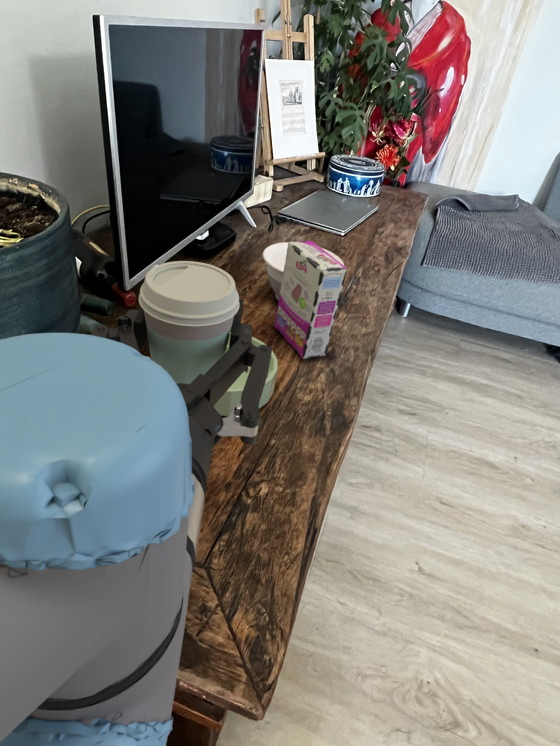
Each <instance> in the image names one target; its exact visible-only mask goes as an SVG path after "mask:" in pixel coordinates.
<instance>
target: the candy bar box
mask: <svg viewBox="0 0 560 746" xmlns="http://www.w3.org/2000/svg"><path fill="white" fill-rule="evenodd" d="M322 248H323V247H321V246H319V245H318V244H317V243H316V242H315V241H314V240H297V241H288V249H287V255H286V260H285V266H284V272H283V278H282V283H281V289H280V296H279V301H278V300H277V301H278V302H277V307H276V314H275V318H274V319H275V320H274V328H275V329H276V331H277V332H278V333H279V334H280V335H281V336H282V337H283V338H284V340H285V342H287V343H288V344H289V345H290V346H291V348H292V349H293V350H294V351H295V352H296V353H297V354H298V355H299V357H300V358H301V359H302V360H308V359H315V358H321V357H325V356H326V355H327V352H328V347H329V344H330V339H331V336H332V333H333V328H334V323H335V320H336V317H337V311H338V308H339V304H340V300H341V296H342V292H343V288H344V284H345V281H346V278H347V277H346V276H347V273H348V272H347V271H348V267H347V266H345V264H344V265H342V264H341V263H340V262H339V261H337V260H336V259H335V258H333V257H332V256H331V255H330V254H328V253H327V252H326V251H324V250H323V249H324V248H323V249H322Z"/></svg>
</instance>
